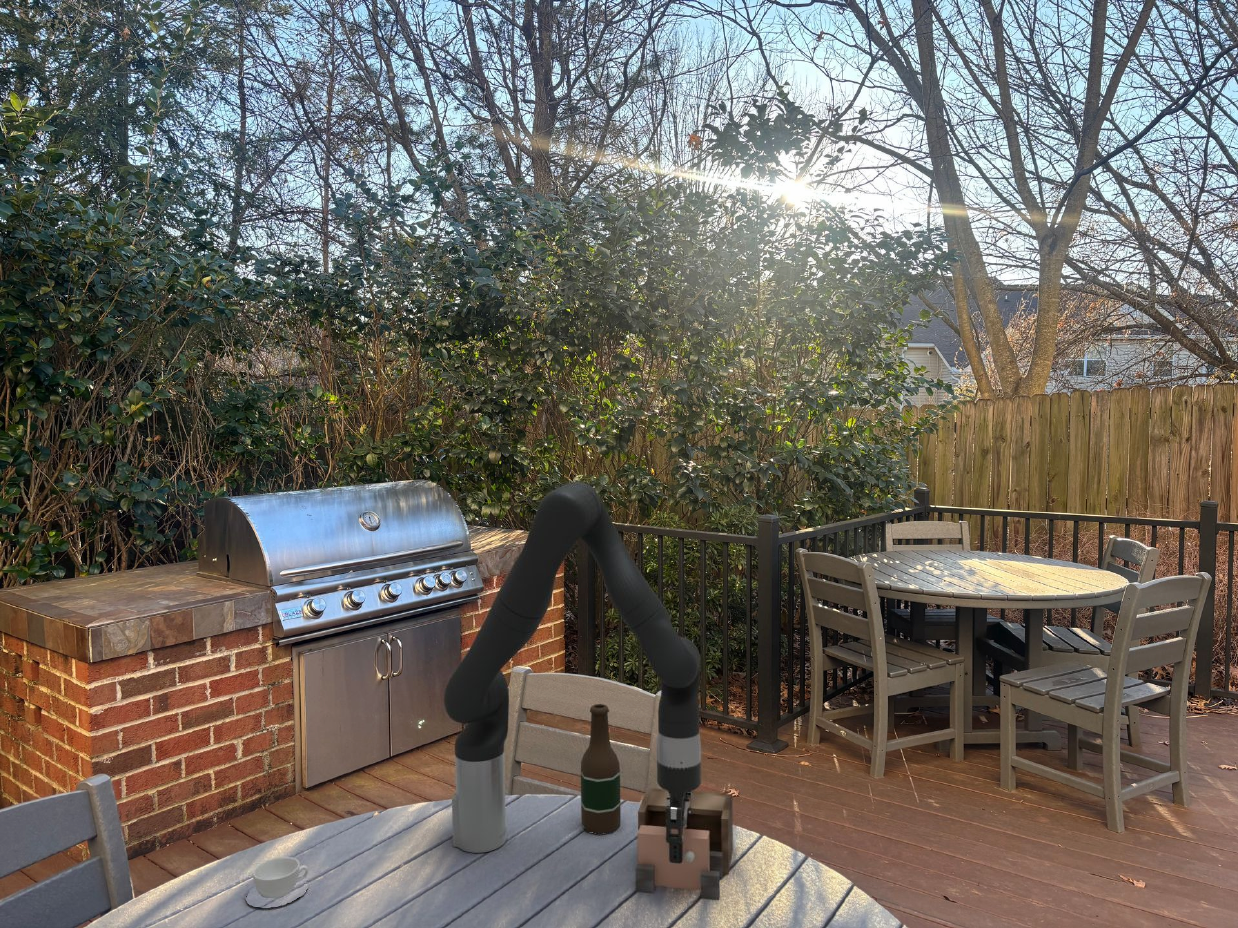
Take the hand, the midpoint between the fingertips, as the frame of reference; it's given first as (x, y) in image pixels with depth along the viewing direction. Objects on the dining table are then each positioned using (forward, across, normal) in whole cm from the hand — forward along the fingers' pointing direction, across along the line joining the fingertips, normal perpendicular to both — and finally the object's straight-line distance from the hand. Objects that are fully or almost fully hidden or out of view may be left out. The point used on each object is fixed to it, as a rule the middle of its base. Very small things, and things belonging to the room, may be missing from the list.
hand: (679, 849), depth 146 cm
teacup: (+6, -16, +67) cm, 69 cm away
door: (+6, 0, +1) cm, 6 cm away
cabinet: (+6, +5, 0) cm, 8 cm away
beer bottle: (+6, +17, +18) cm, 26 cm away
